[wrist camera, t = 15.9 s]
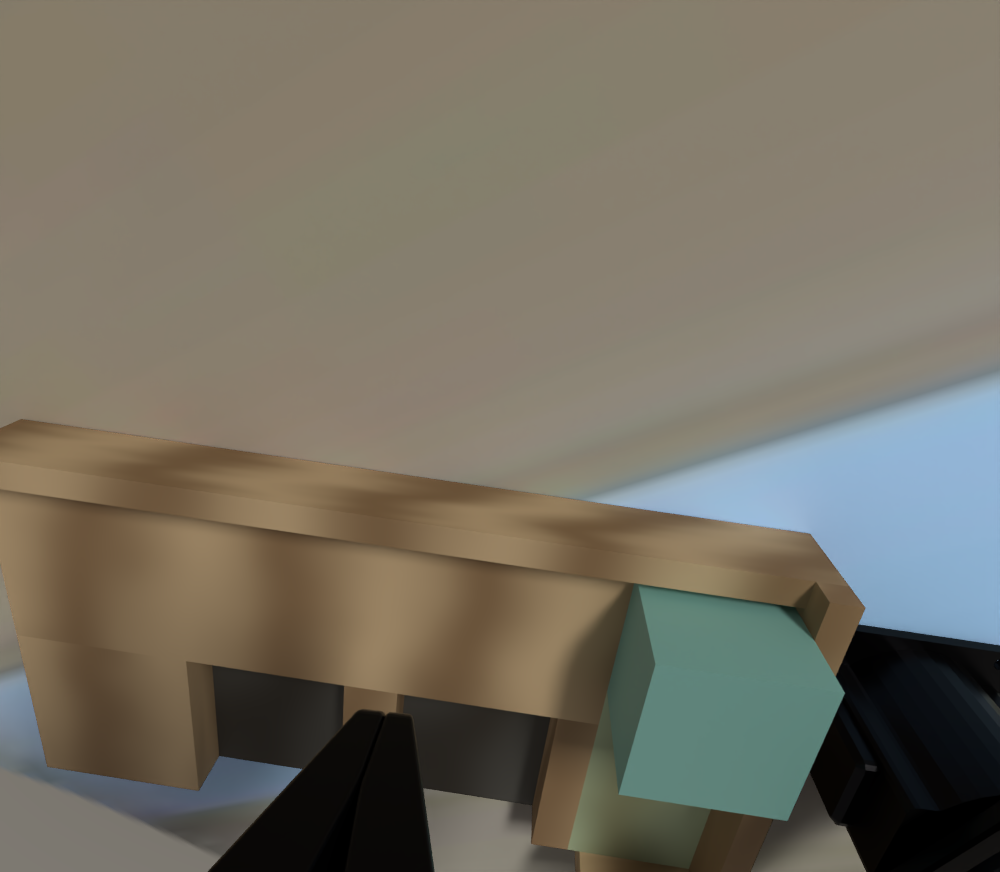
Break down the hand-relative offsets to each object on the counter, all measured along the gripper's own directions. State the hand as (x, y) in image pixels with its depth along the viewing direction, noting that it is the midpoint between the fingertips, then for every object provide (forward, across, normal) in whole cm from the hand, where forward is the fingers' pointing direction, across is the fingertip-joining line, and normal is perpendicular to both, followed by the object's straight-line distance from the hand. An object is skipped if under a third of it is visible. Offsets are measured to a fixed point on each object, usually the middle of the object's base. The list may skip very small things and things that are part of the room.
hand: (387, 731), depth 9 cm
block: (+10, -8, +6) cm, 14 cm away
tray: (+12, +2, +10) cm, 16 cm away
